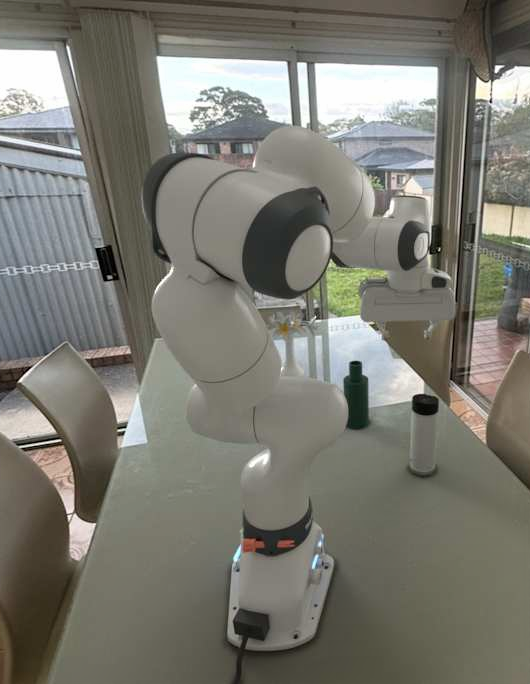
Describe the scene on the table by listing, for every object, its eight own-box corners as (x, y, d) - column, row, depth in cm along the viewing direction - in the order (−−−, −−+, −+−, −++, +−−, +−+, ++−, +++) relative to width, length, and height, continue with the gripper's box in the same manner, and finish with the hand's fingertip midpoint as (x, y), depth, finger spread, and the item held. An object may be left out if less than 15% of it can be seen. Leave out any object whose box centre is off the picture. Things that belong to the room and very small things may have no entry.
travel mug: (405, 472, 107) (407, 400, 100) (415, 457, 113) (417, 388, 105) (429, 480, 104) (433, 406, 97) (438, 464, 110) (443, 393, 103)
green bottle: (369, 428, 125) (368, 368, 119) (344, 429, 125) (342, 368, 118) (368, 415, 132) (367, 357, 125) (344, 416, 132) (343, 358, 125)
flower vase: (325, 381, 154) (322, 313, 145) (276, 395, 144) (269, 323, 135) (308, 368, 164) (304, 304, 155) (261, 381, 155) (254, 313, 146)
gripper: (358, 281, 88) (359, 345, 93) (459, 279, 89) (455, 343, 94) (357, 274, 94) (358, 334, 99) (452, 272, 94) (448, 332, 100)
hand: (406, 339), depth 96 cm, fingers open, 8 cm apart
